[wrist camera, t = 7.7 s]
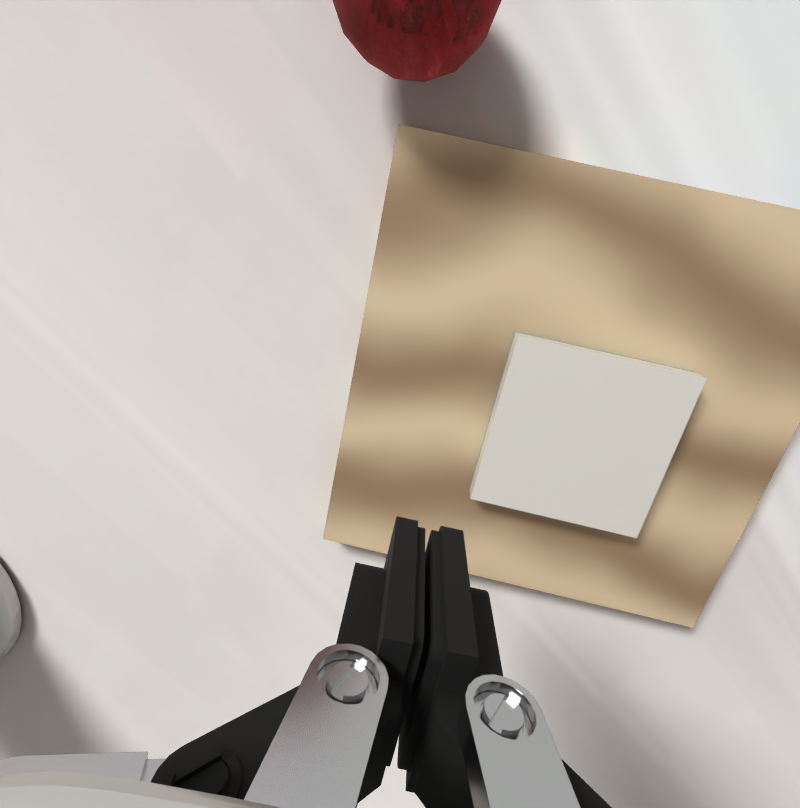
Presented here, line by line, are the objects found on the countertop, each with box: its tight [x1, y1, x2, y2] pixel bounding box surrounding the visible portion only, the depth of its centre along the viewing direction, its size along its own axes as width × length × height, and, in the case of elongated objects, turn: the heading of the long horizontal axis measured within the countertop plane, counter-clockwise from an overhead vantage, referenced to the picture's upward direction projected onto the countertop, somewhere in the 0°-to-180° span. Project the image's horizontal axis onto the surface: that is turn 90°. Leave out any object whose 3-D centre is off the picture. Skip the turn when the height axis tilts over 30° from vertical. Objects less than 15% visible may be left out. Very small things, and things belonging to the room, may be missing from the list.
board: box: [323, 124, 800, 628], centre depth 23 cm, size 20×20×2 cm
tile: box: [470, 331, 707, 538], centre depth 22 cm, size 8×1×8 cm
